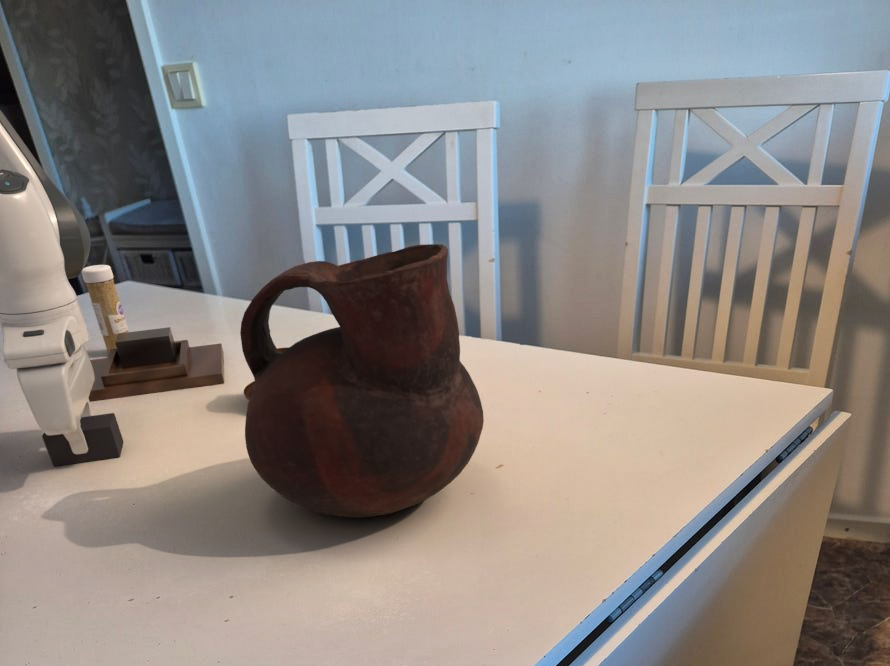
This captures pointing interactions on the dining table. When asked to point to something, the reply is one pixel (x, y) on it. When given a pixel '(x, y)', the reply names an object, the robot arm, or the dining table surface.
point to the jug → (363, 388)
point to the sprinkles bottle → (105, 303)
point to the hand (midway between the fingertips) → (85, 442)
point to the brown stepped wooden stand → (155, 365)
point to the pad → (99, 436)
